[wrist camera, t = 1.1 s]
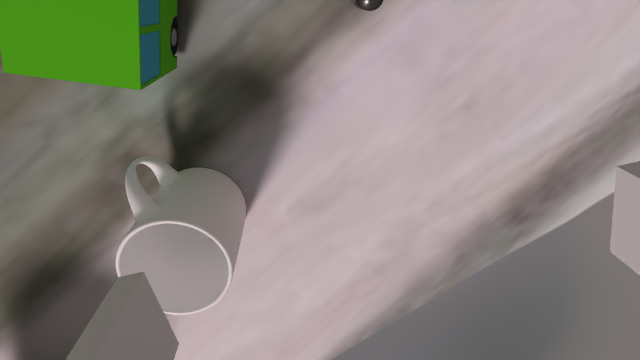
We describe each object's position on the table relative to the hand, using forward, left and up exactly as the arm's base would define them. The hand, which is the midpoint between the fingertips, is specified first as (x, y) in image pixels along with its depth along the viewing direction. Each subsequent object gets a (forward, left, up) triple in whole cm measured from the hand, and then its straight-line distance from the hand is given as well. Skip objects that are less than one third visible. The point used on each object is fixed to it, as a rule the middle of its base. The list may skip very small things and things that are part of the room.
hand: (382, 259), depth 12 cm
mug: (-5, -15, -28) cm, 32 cm away
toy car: (-17, 0, -28) cm, 33 cm away
